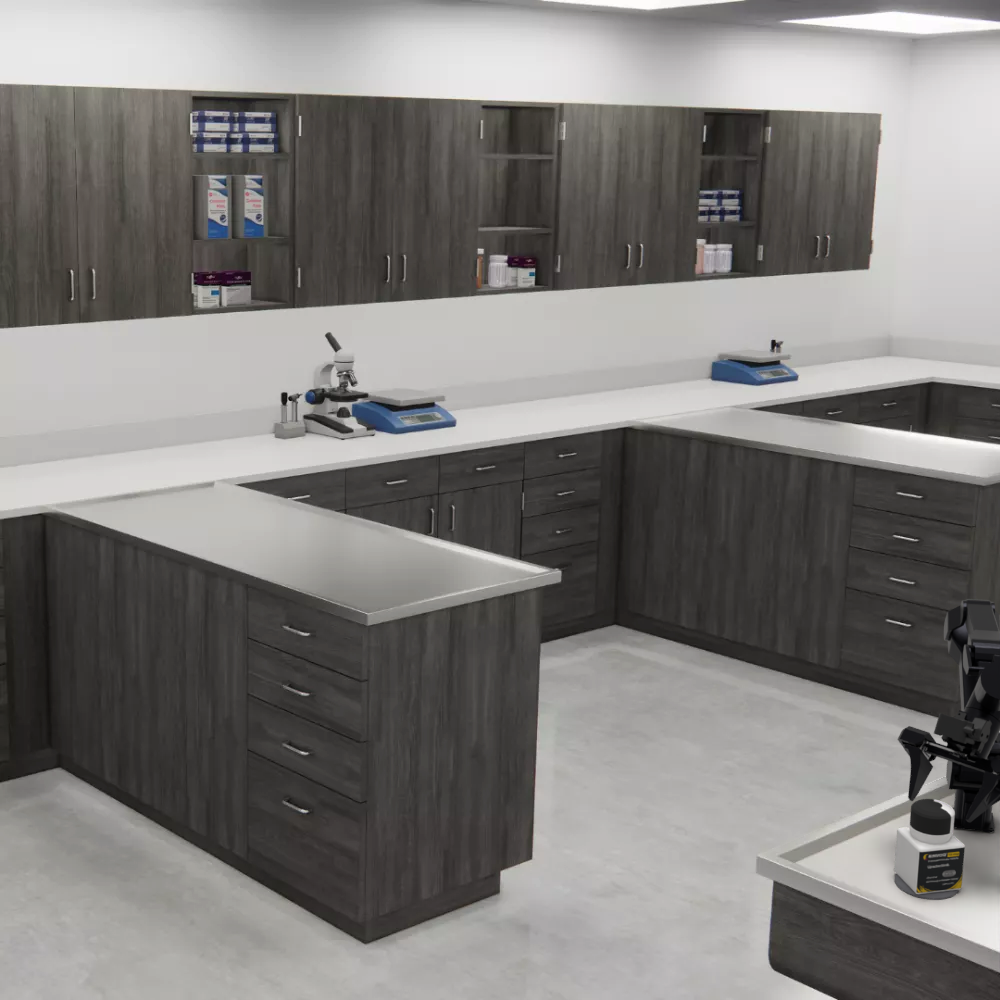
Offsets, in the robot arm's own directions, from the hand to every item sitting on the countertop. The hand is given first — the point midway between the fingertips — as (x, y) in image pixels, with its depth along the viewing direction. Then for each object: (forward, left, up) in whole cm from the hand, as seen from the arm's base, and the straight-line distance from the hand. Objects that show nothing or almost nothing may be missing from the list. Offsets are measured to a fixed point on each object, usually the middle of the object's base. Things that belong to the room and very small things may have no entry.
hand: (938, 810), depth 208 cm
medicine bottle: (+2, -1, -11) cm, 11 cm away
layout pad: (+2, -1, -11) cm, 11 cm away
